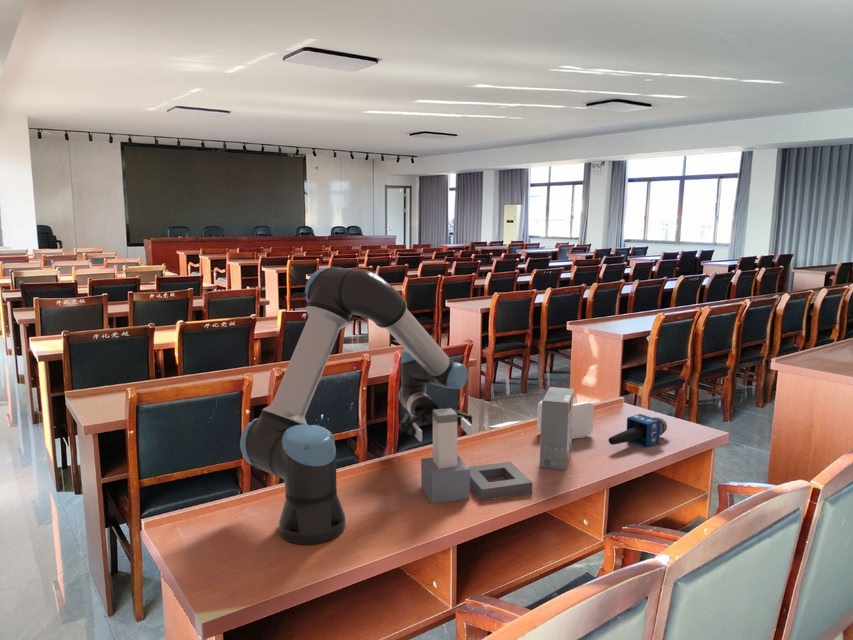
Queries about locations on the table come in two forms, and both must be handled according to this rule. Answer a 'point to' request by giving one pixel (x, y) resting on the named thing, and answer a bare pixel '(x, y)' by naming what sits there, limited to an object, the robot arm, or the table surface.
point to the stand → (445, 481)
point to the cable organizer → (575, 418)
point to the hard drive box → (556, 428)
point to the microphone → (641, 431)
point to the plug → (445, 438)
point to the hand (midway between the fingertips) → (446, 433)
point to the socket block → (490, 490)
